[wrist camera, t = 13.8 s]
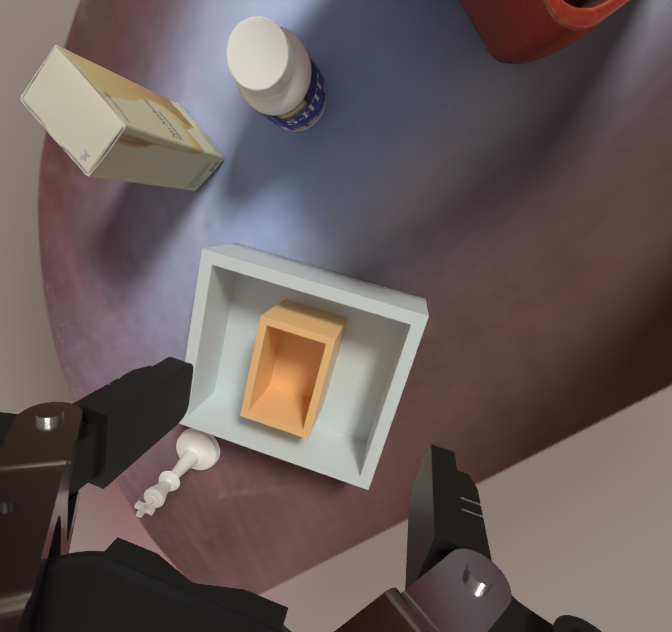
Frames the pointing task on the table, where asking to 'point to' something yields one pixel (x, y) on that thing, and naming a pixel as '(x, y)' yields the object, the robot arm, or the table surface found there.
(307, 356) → the small crate
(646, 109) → the table surface
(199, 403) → the big crate
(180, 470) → the chess piece
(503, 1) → the plant pot
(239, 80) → the pill bottle
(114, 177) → the skincare box
